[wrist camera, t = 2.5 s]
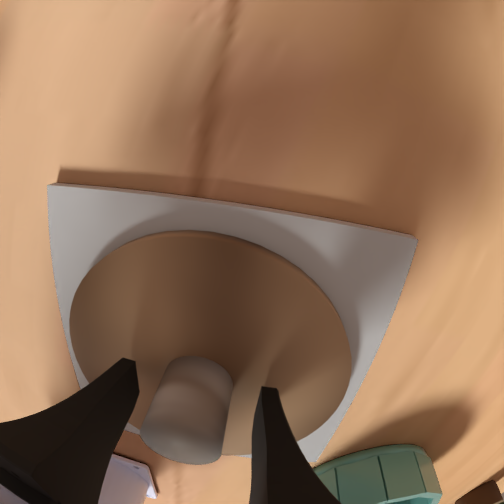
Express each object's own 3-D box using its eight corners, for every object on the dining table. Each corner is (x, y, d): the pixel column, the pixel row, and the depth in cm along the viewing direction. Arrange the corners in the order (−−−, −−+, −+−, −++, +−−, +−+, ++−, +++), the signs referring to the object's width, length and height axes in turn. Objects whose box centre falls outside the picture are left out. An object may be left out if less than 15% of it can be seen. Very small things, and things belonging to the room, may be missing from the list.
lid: (101, 414, 15) (75, 463, 11) (63, 211, 11) (-10, 245, 7) (306, 454, 15) (308, 512, 11) (388, 259, 10) (440, 322, 6)
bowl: (282, 503, 19) (280, 543, 15) (319, 447, 16) (324, 506, 11) (389, 496, 19) (395, 531, 15) (451, 436, 15) (468, 479, 11)
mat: (94, 411, 16) (90, 418, 15) (55, 182, 11) (47, 185, 10) (315, 454, 16) (315, 461, 15) (412, 235, 11) (418, 239, 10)
